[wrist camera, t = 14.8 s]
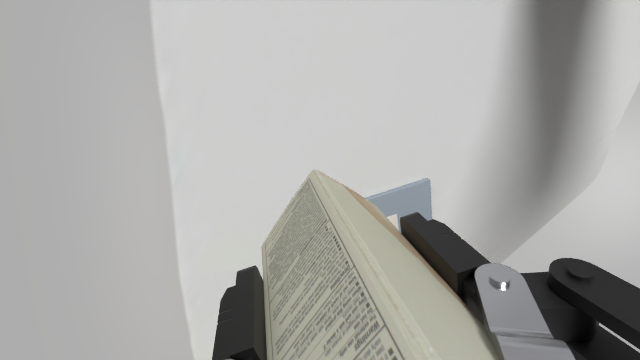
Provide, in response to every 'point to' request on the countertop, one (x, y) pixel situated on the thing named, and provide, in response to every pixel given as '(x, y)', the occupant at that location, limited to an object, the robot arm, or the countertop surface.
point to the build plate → (405, 201)
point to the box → (357, 287)
